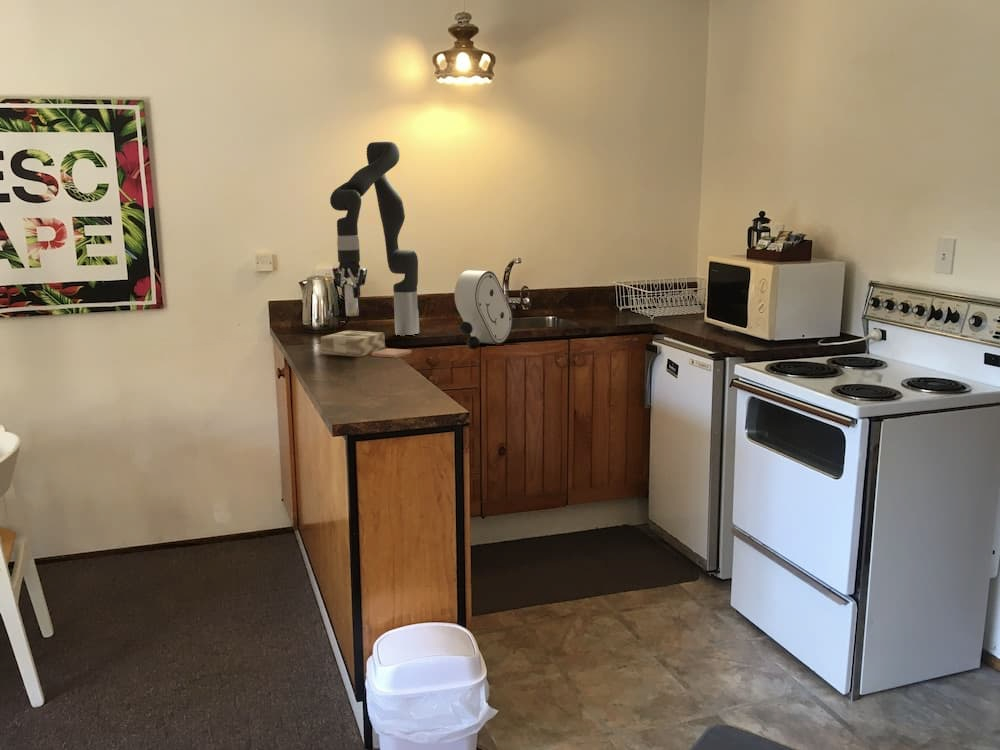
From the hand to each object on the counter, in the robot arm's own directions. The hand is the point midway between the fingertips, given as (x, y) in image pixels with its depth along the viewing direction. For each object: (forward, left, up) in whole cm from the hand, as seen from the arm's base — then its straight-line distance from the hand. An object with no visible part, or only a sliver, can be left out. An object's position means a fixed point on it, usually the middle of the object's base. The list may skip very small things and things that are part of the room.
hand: (351, 297), depth 305 cm
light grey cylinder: (0, 0, -6) cm, 6 cm away
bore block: (0, 0, -19) cm, 19 cm away
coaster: (0, +16, -19) cm, 25 cm away
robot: (-27, +38, -20) cm, 50 cm away
